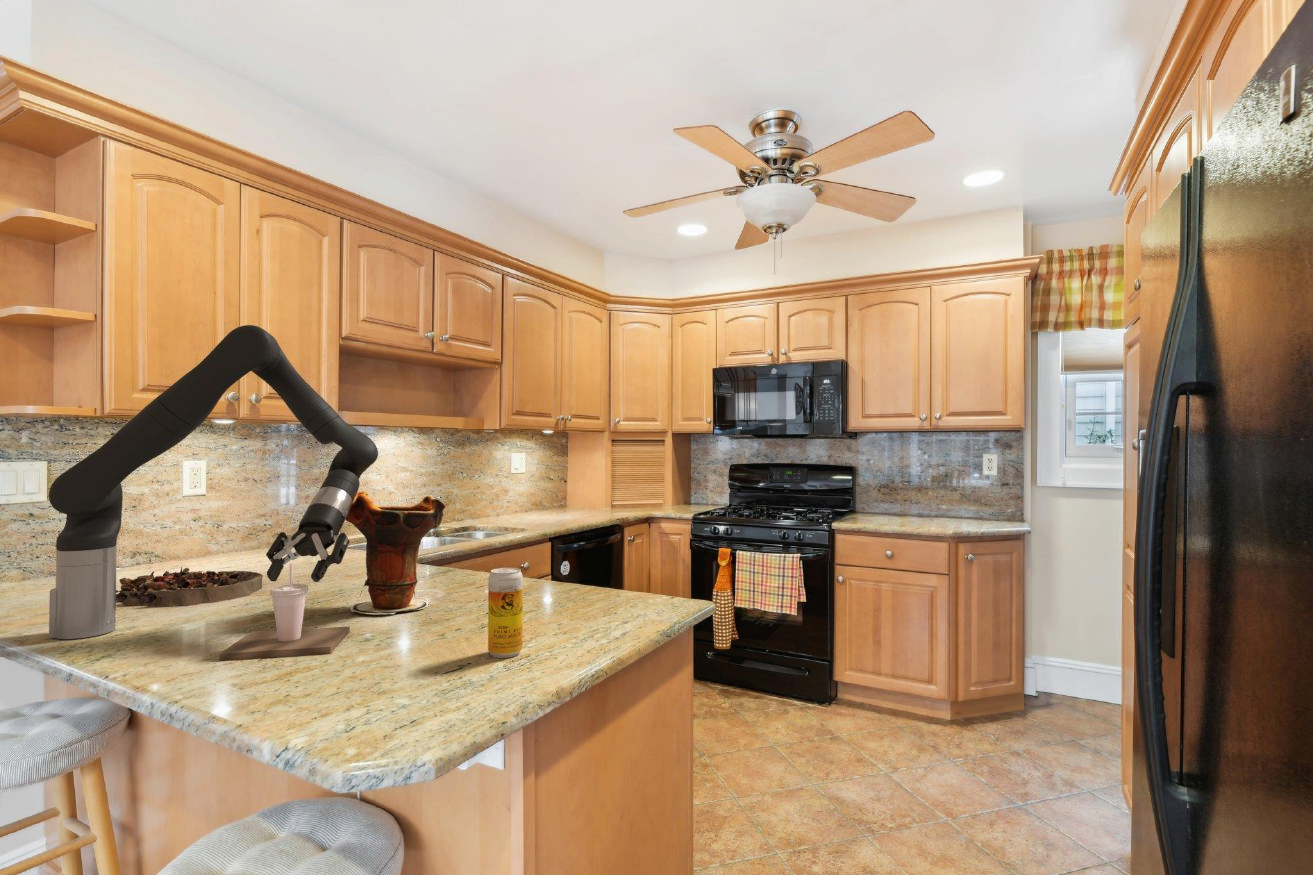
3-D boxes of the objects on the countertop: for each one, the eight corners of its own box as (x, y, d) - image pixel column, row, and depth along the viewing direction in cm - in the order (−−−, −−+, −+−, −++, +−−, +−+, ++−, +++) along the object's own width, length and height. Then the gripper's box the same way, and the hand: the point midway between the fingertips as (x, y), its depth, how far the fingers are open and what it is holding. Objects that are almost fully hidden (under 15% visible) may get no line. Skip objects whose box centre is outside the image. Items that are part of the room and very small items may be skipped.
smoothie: (315, 633, 126) (315, 561, 126) (294, 643, 120) (294, 567, 120) (284, 633, 127) (284, 561, 127) (261, 643, 120) (261, 567, 120)
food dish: (92, 599, 168) (93, 568, 168) (238, 581, 193) (239, 555, 193) (123, 617, 145) (124, 581, 145) (284, 594, 170) (284, 564, 170)
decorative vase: (458, 607, 153) (458, 490, 153) (356, 623, 138) (357, 494, 139) (425, 592, 168) (426, 487, 169) (331, 606, 154) (332, 490, 154)
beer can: (492, 660, 114) (492, 574, 114) (484, 651, 119) (484, 568, 119) (526, 655, 116) (526, 571, 117) (517, 646, 122) (517, 566, 122)
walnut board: (219, 660, 114) (219, 653, 114) (251, 638, 128) (251, 631, 128) (330, 653, 118) (330, 646, 118) (349, 632, 132) (349, 626, 132)
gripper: (286, 501, 133) (247, 567, 122) (353, 502, 133) (321, 568, 121) (301, 524, 139) (265, 590, 127) (366, 525, 138) (336, 591, 126)
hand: (292, 579), depth 124 cm, fingers open, 8 cm apart
